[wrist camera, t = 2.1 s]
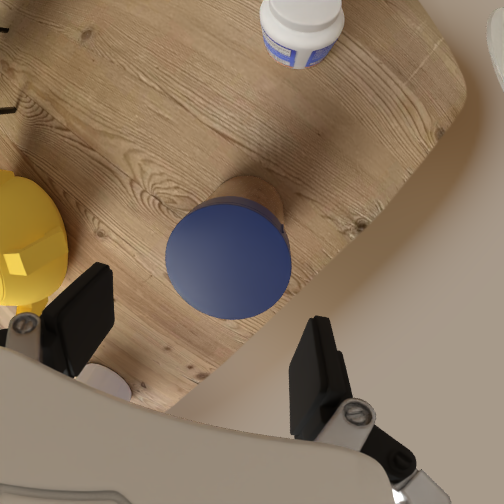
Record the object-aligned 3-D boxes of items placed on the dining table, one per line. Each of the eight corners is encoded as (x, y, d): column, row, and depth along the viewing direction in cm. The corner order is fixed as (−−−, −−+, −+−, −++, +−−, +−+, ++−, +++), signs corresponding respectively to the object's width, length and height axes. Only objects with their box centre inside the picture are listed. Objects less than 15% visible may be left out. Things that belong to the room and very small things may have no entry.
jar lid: (250, 171, 15) (246, 176, 14) (312, 271, 17) (315, 287, 16) (154, 234, 17) (141, 246, 16) (218, 317, 19) (212, 335, 18)
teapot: (-9, 238, 30) (-62, 272, 19) (16, 141, 24) (-59, 161, 13) (61, 311, 33) (12, 365, 22) (100, 223, 27) (25, 275, 16)
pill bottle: (324, 18, 18) (347, -34, 9) (330, 71, 20) (362, 38, 11) (261, 18, 19) (252, -37, 10) (266, 71, 21) (259, 36, 12)
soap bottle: (86, 352, 36) (7, 479, 13) (138, 384, 37) (77, 524, 15) (80, 379, 39) (18, 488, 17) (126, 407, 40) (76, 524, 18)
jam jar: (258, 161, 24) (245, 180, 14) (297, 224, 26) (309, 282, 16) (196, 200, 26) (149, 244, 16) (236, 258, 28) (214, 327, 18)
